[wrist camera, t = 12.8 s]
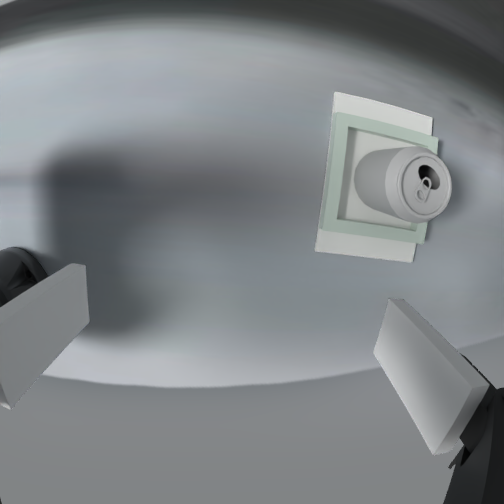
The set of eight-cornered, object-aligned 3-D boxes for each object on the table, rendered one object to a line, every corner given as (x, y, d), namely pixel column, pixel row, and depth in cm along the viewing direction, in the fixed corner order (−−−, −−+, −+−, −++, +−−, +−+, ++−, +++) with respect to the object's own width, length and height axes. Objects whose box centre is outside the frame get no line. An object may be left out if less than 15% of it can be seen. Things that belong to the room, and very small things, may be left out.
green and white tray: (314, 250, 40) (318, 255, 37) (334, 92, 35) (339, 87, 32) (410, 261, 40) (418, 266, 38) (430, 118, 35) (439, 116, 33)
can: (414, 175, 37) (469, 181, 25) (384, 221, 38) (431, 242, 26) (372, 138, 36) (419, 128, 24) (339, 185, 37) (377, 192, 25)
